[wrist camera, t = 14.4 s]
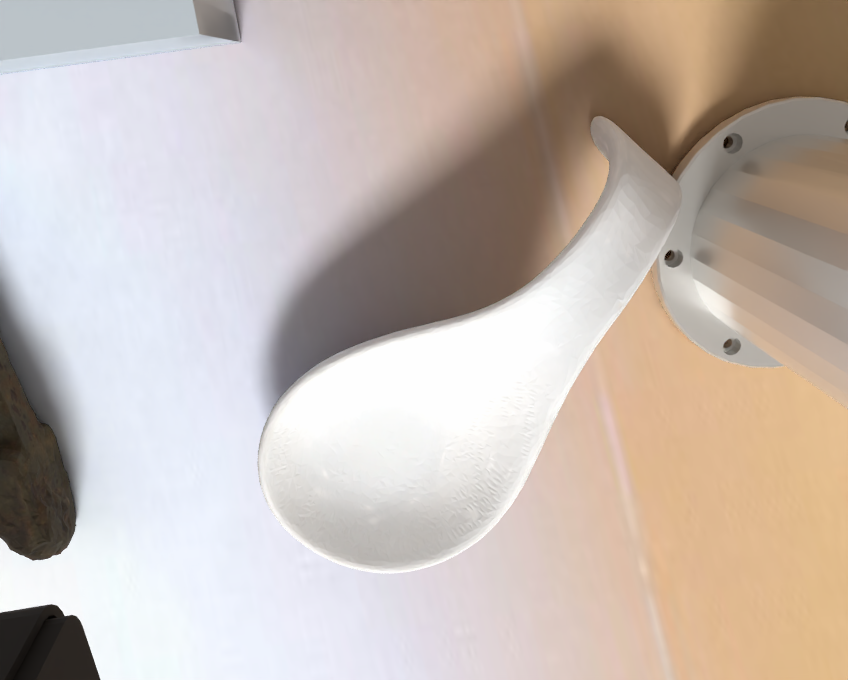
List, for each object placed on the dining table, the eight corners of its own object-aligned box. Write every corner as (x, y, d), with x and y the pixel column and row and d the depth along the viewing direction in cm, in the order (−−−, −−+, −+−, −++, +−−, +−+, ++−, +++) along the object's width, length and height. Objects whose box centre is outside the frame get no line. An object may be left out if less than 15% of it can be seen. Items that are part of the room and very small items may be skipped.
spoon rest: (406, 572, 42) (418, 669, 35) (217, 456, 39) (190, 538, 32) (716, 219, 37) (798, 253, 31) (530, 53, 34) (576, 51, 27)
